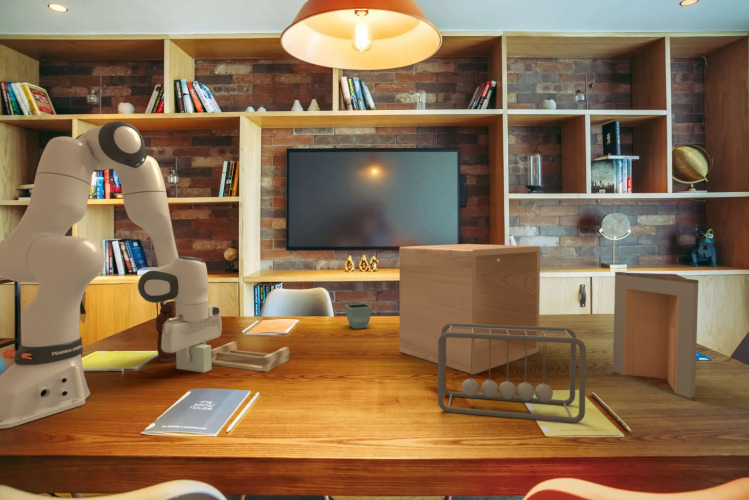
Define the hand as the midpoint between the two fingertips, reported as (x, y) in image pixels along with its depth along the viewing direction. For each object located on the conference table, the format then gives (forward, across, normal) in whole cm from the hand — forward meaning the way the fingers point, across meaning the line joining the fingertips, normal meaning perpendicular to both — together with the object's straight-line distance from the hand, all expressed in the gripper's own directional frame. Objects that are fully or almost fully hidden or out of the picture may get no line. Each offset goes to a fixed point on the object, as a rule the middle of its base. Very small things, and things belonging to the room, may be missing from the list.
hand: (193, 359), depth 128 cm
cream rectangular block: (+3, 0, 0) cm, 3 cm away
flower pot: (+3, +65, -24) cm, 69 cm away
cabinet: (+3, +32, -123) cm, 127 cm away
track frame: (+3, +11, -11) cm, 16 cm away
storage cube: (+3, +44, -72) cm, 84 cm away
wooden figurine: (+3, +7, +14) cm, 16 cm away
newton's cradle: (+3, +2, -87) cm, 87 cm away
